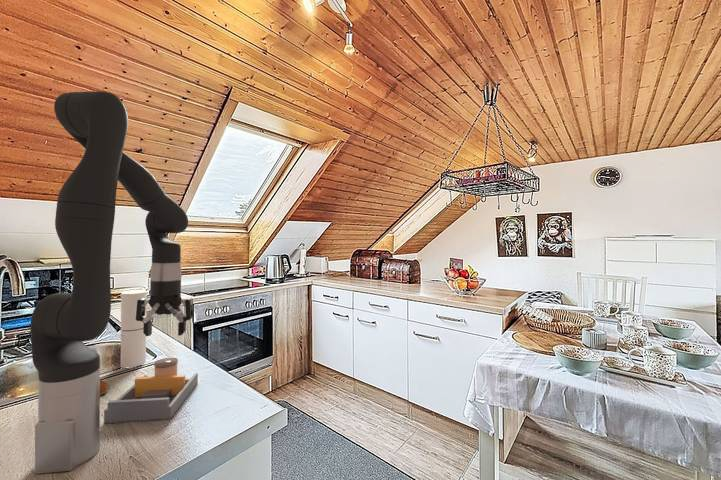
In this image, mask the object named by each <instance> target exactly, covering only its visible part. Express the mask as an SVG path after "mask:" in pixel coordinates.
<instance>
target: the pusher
mask: <svg viewBox="0 0 721 480" xmlns="http://www.w3.org/2000/svg"><path fill="white" fill-rule="evenodd" d="M185 378H186V374H183V375H182V374H179V375H178V374H177V375H176V376H155V375H154V376H147V377H143V376H138V377H137V376H136V378H134V384H135V397H142V399H149V398H167V397H170V396H171V395H178V393H179V392H180V391H181V390H182V388H183V387H184V386H185Z"/></svg>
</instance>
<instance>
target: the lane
mask: <svg viewBox="0 0 721 480" xmlns="http://www.w3.org/2000/svg"><path fill="white" fill-rule="evenodd" d="M142 377H148V374H147V375H143V376H142ZM198 378H199V375H198V373H197V372H196V373H194V374H193V375H192V376H191V377H187V378H186V377H185V386H184V387H183V388H182V390H181V391H180V392H179V393H178V395H171V396H170V397H167V398H149V399H142V397H135V383H134V384H133V385H131V386H130V387H129V389H127V390H125V392H124V393H122V394H121V395H120V396H119V397H118V398H117V399H114V400H109V401H108V402H107V407H106V408H105V409H104V410H103V424H104V425H105V424H120V423H121V424H122V423H132V422H133V423H136V422H152V421H153V420H154V421H165V420H166V421H167V420H172V418H174V416H175V415H176V413H177V412H178V410H179V409H180V408H181V407H182V405H183V404H184V402H185V401H186V400H187V398H188V397H189V396H190V395H191V393H192V392H193V390H194V389H195V388H196V387H197V385H198V383H199V382H198V381H199V380H198Z"/></svg>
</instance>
